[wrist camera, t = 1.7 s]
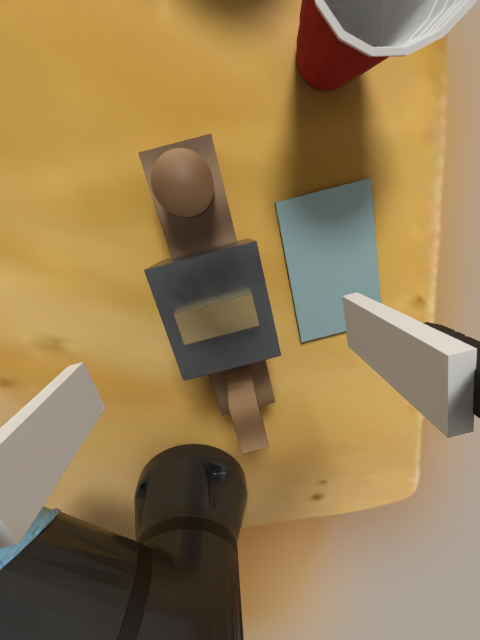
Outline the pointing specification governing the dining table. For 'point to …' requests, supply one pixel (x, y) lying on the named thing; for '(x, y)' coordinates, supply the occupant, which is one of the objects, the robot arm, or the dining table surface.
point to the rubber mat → (329, 254)
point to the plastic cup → (367, 34)
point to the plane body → (199, 234)
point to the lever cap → (215, 308)
